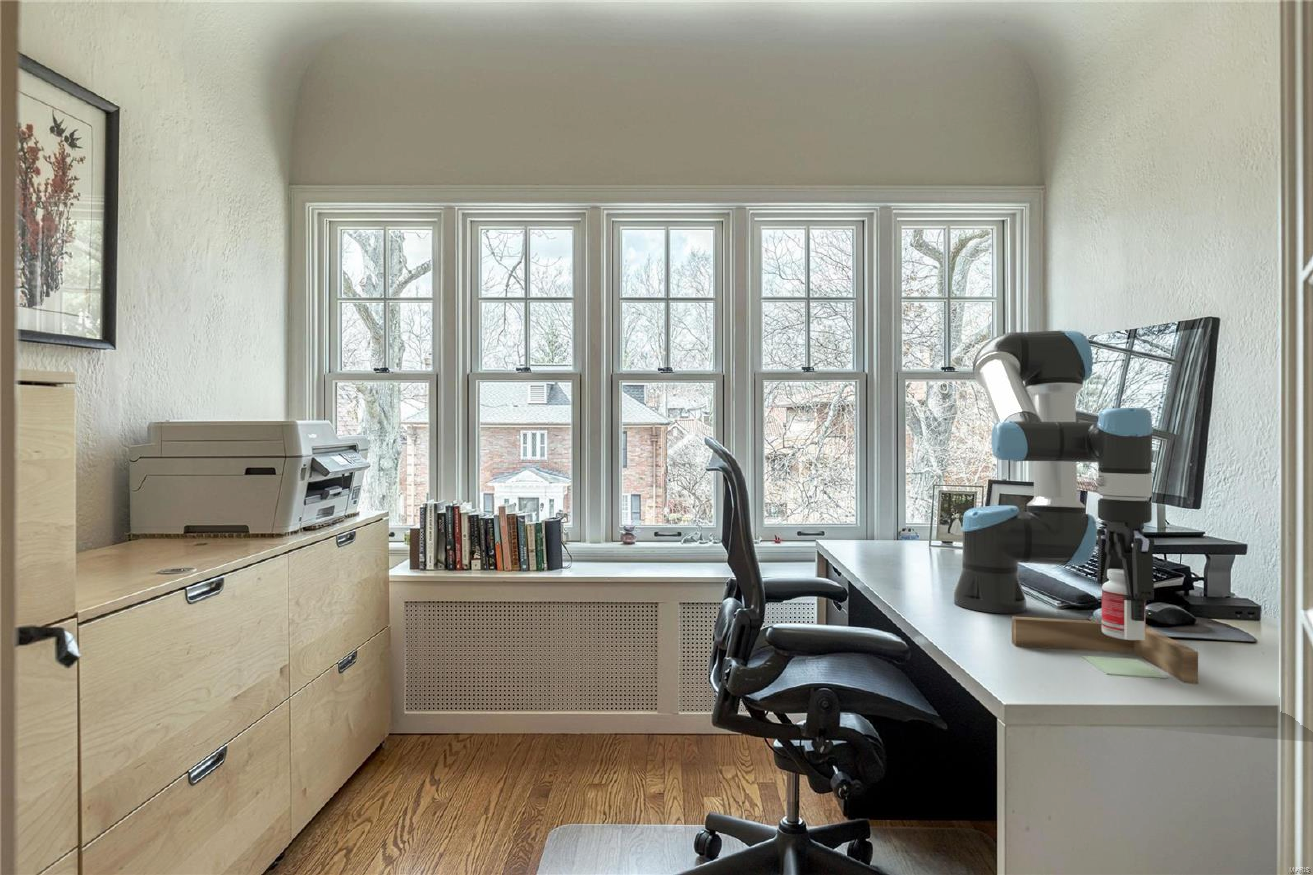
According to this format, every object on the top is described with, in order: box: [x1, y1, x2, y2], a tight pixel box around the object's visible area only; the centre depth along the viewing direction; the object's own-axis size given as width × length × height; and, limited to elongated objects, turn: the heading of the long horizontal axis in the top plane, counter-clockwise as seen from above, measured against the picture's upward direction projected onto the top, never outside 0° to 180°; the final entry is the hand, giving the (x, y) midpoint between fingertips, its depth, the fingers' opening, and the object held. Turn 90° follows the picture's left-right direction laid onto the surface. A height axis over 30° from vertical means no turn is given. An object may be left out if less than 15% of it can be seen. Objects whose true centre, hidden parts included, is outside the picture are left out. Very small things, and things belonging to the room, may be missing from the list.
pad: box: [1081, 655, 1169, 679], centre depth 113 cm, size 9×9×1 cm
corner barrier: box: [1011, 616, 1199, 684], centre depth 116 cm, size 17×22×5 cm
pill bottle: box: [1101, 569, 1147, 640], centre depth 113 cm, size 6×6×11 cm
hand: (1123, 633), depth 113 cm, fingers closed on pill bottle, 6 cm apart
